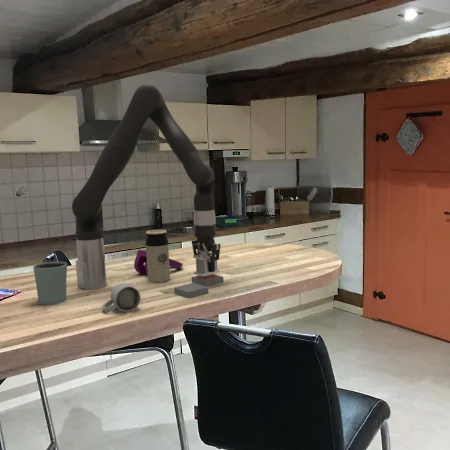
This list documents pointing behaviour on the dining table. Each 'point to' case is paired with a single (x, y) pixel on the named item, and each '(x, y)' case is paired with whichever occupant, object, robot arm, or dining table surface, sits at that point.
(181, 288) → the stand left
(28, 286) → the dining table surface
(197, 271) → the housing
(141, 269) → the mounting bracket
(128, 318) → the dining table surface
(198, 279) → the stand right
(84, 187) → the robot arm
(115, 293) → the ceramic mug
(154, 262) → the travel mug
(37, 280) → the green tapered cup
